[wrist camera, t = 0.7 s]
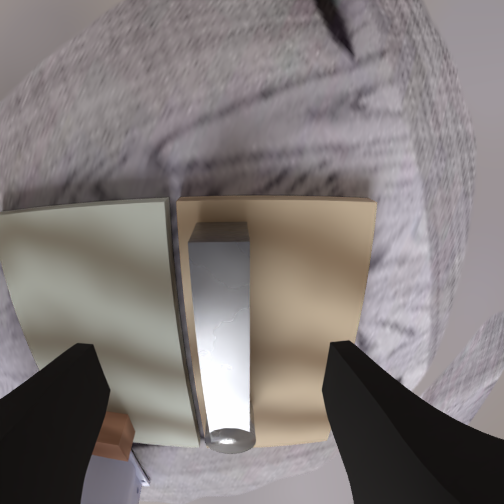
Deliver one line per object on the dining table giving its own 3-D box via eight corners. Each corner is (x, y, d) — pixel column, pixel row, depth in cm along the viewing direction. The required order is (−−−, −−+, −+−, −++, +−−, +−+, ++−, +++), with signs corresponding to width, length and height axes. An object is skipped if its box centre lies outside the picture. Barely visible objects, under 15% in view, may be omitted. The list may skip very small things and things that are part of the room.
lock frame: (324, 430, 23) (335, 469, 19) (76, 421, 22) (62, 455, 18) (368, 197, 16) (407, 218, 12) (2, 211, 15) (-41, 231, 11)
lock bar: (253, 420, 20) (255, 453, 17) (208, 421, 20) (207, 453, 17) (255, 221, 15) (260, 241, 12) (188, 222, 14) (177, 242, 12)
